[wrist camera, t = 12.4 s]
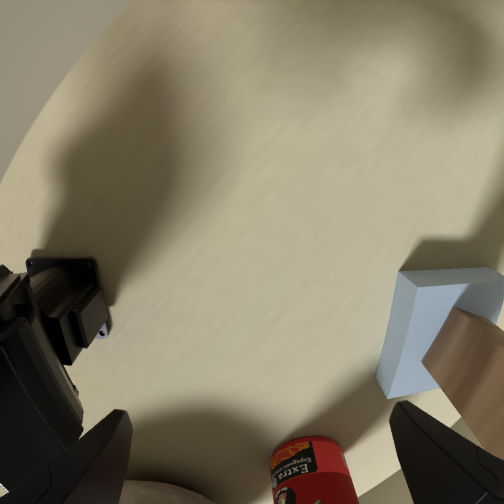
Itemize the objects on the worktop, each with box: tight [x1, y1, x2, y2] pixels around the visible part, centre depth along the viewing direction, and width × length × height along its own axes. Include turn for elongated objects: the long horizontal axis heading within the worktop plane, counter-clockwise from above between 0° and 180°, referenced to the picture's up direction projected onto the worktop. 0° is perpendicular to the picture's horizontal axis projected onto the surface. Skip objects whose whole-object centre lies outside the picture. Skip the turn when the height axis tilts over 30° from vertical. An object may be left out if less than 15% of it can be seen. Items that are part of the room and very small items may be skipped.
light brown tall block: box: [421, 306, 504, 460], centre depth 14 cm, size 5×5×13 cm
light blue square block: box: [375, 267, 504, 399], centre depth 22 cm, size 10×10×4 cm
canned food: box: [270, 437, 359, 504], centre depth 23 cm, size 8×8×11 cm
